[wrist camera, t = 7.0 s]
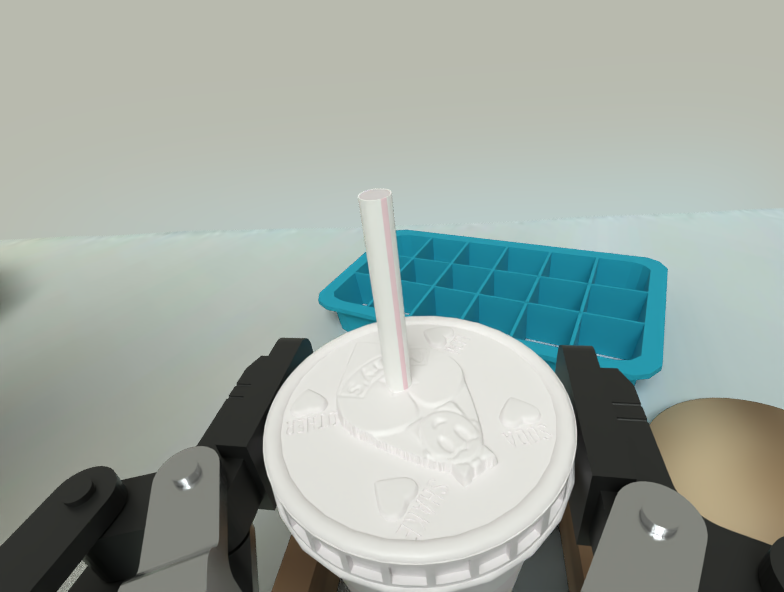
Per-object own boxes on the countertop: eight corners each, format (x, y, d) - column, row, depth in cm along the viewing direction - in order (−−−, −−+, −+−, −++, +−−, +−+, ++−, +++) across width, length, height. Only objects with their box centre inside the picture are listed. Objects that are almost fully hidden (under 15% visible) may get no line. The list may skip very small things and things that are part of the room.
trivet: (650, 583, 15) (656, 570, 15) (629, 398, 22) (632, 384, 22) (1013, 684, 12) (1037, 671, 12) (858, 433, 19) (868, 417, 19)
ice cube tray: (648, 426, 21) (661, 381, 20) (319, 336, 30) (309, 301, 29) (658, 298, 29) (668, 259, 28) (396, 259, 39) (392, 228, 37)
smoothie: (449, 484, 18) (431, 131, 10) (585, 638, 13) (734, 195, 6) (307, 585, 15) (143, 208, 8) (414, 822, 11) (261, 452, 3)
